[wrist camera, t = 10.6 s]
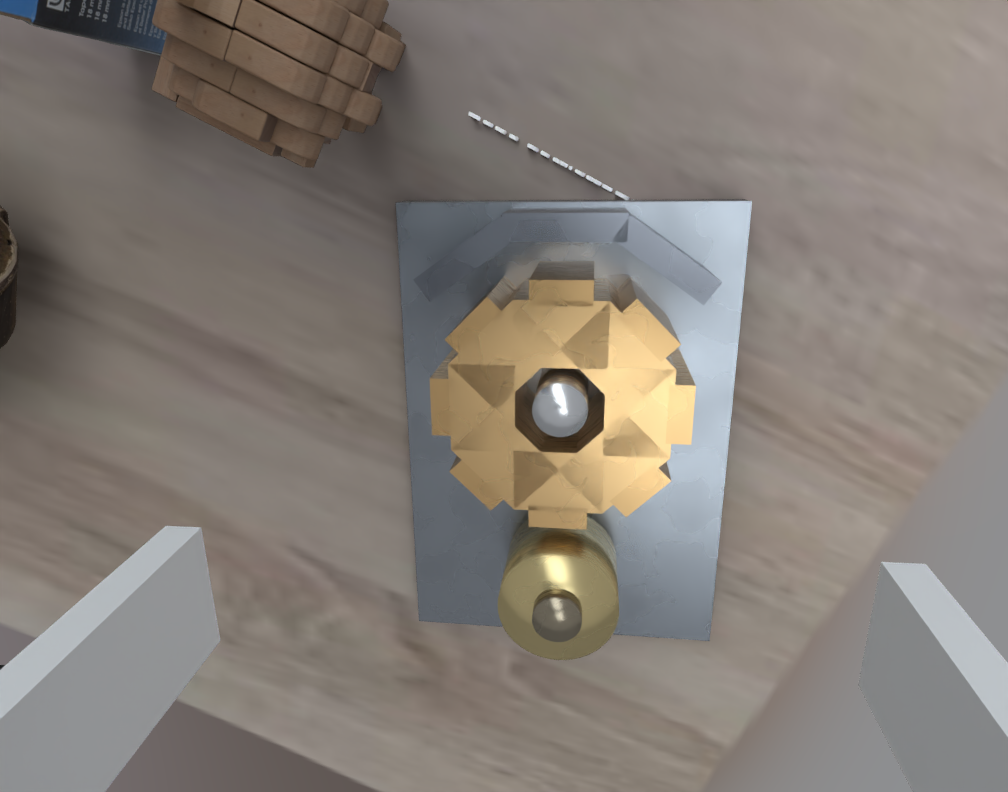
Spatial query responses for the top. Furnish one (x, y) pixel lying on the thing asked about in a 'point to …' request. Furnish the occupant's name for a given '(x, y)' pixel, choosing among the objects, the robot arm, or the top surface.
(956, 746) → the robot arm
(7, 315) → the mechanical counter
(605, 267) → the carrier
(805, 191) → the top surface
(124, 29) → the label tape cartridge
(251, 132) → the ostrich figurine
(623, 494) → the gear
